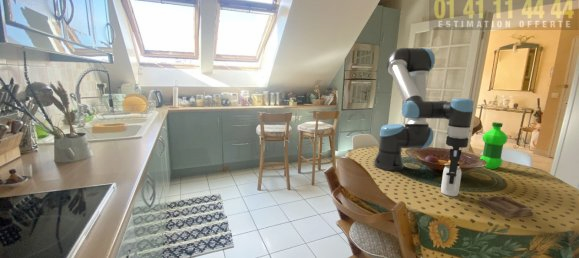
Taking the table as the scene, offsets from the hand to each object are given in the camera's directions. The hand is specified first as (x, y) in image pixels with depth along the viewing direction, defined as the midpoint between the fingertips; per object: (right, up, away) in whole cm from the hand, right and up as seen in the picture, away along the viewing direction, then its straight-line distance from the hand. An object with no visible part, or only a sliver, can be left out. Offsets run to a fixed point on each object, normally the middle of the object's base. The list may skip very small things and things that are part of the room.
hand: (450, 185), depth 109 cm
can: (0, -4, +1) cm, 4 cm away
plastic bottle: (+43, +2, +33) cm, 54 cm away
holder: (+13, -6, -11) cm, 18 cm away
